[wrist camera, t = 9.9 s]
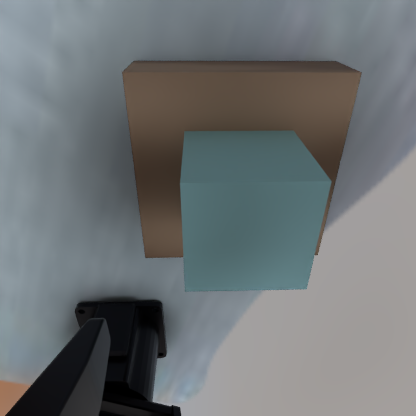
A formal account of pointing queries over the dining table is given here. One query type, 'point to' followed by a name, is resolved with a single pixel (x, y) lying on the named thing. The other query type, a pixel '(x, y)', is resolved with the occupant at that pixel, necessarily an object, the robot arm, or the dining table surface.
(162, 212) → the walnut base
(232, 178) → the block
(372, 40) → the dining table surface
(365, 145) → the dining table surface
